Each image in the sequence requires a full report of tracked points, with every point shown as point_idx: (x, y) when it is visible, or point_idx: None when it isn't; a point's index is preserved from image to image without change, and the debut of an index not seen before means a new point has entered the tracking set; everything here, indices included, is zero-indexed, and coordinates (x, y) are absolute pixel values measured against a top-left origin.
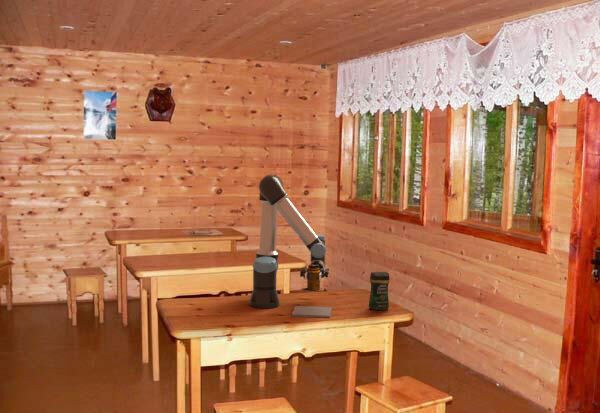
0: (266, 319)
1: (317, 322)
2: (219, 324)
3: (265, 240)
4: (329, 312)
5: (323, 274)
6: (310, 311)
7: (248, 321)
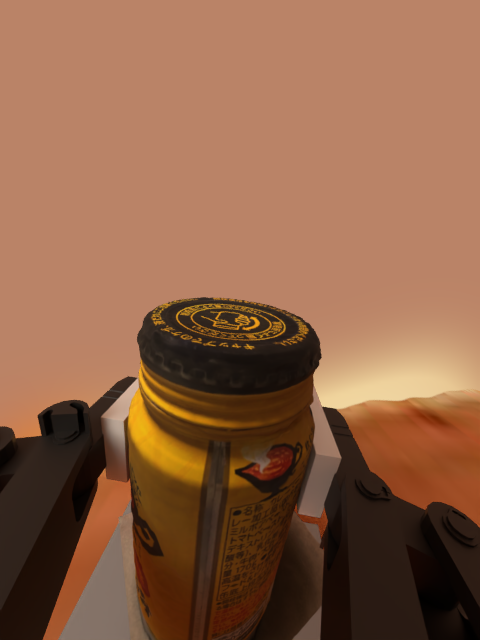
0: (390, 477)
1: None
2: (470, 429)
3: None
4: (98, 579)
5: (112, 391)
6: None
7: (426, 454)
